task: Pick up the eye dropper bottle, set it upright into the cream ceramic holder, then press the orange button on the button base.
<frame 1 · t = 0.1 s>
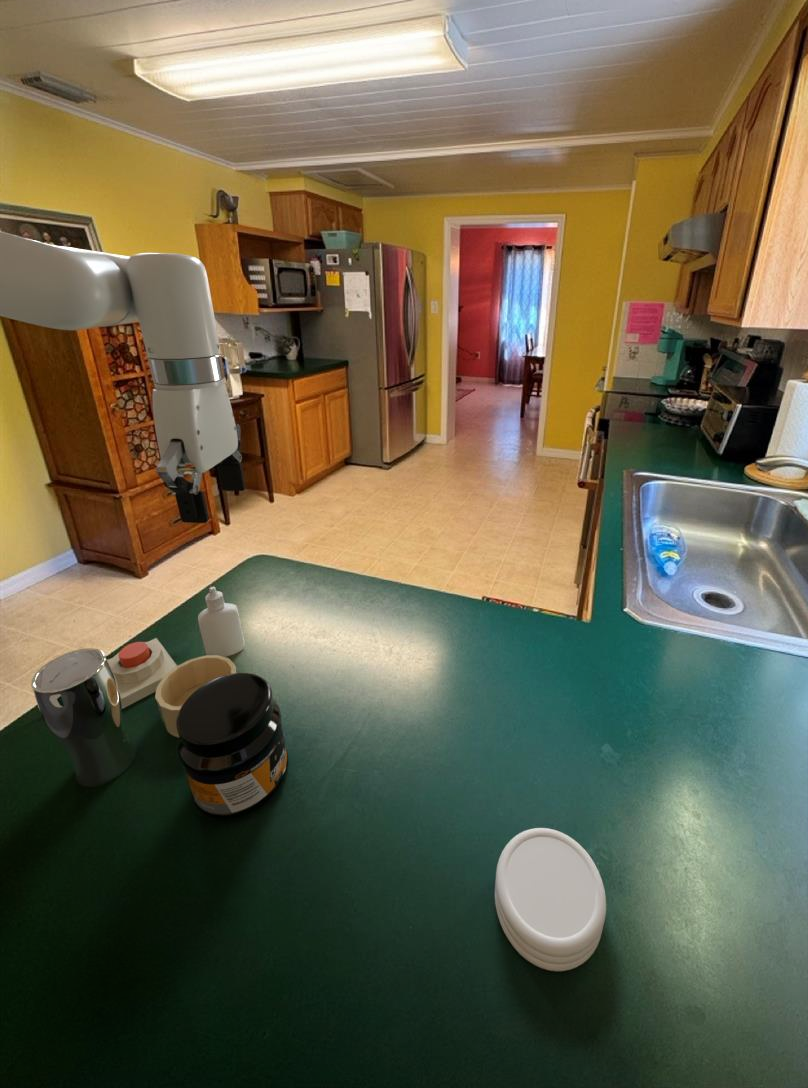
hand: (216, 504, 61), 28 cm above the kitchen counter, tool pointing down, fingers open, 9 cm apart
coaster: (546, 905, 45), on the kitchen counter
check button: (134, 654, 69), point 4 cm above the kitchen counter, slide at 0.1 cm
silver rounded piece: (107, 764, 58), on the kitchen counter
supplement container: (243, 780, 56), on the kitchen counter
eye dropper bottle: (226, 651, 76), on the kitchen counter
button base: (141, 675, 71), on the kitchen counter
holder: (204, 708, 65), on the kitchen counter
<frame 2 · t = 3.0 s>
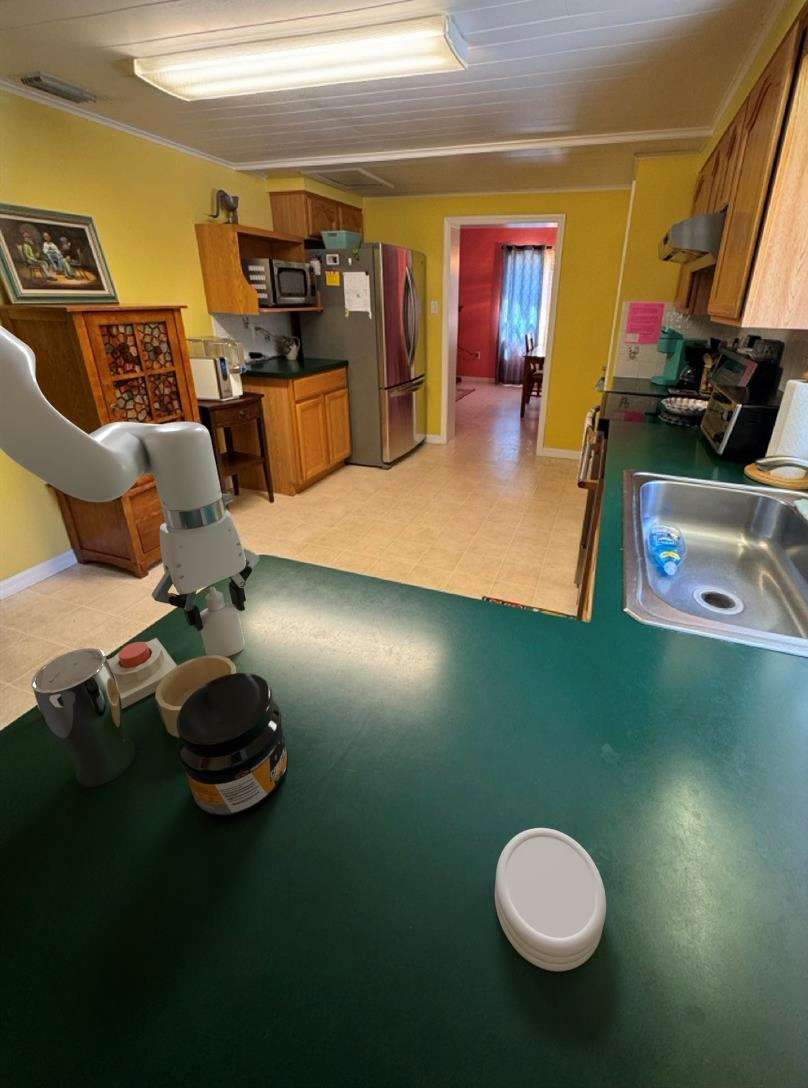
hand: (218, 615, 73), 7 cm above the kitchen counter, tool pointing down, fingers closed on eye dropper bottle, 5 cm apart
eye dropper bottle: (226, 651, 76), on the kitchen counter, touching gripper
everything else where it was.
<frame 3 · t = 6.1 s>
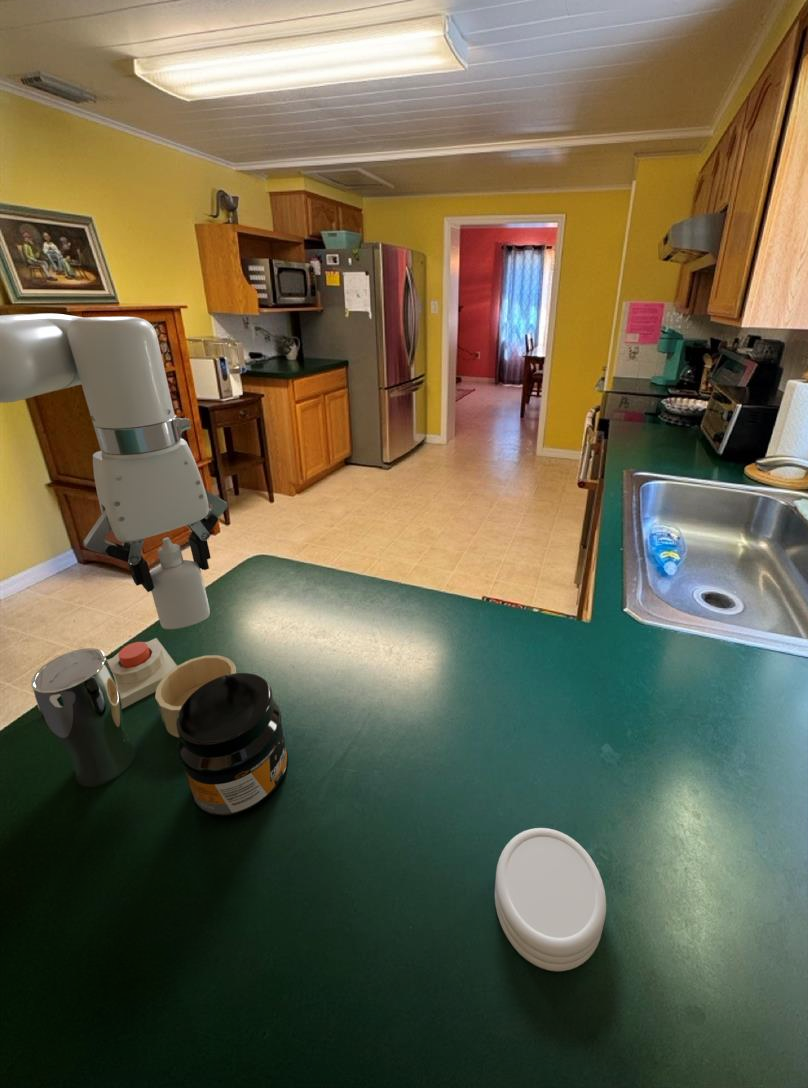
hand: (175, 574, 59), 21 cm above the kitchen counter, tool pointing down, fingers closed on eye dropper bottle, 5 cm apart
eye dropper bottle: (187, 620, 61), point 14 cm above the kitchen counter, touching gripper
everything else where it was.
when the fingers open (8 cm above the kitchen counter, at t = 9.5 s): eye dropper bottle stays where it is, resting on holder.
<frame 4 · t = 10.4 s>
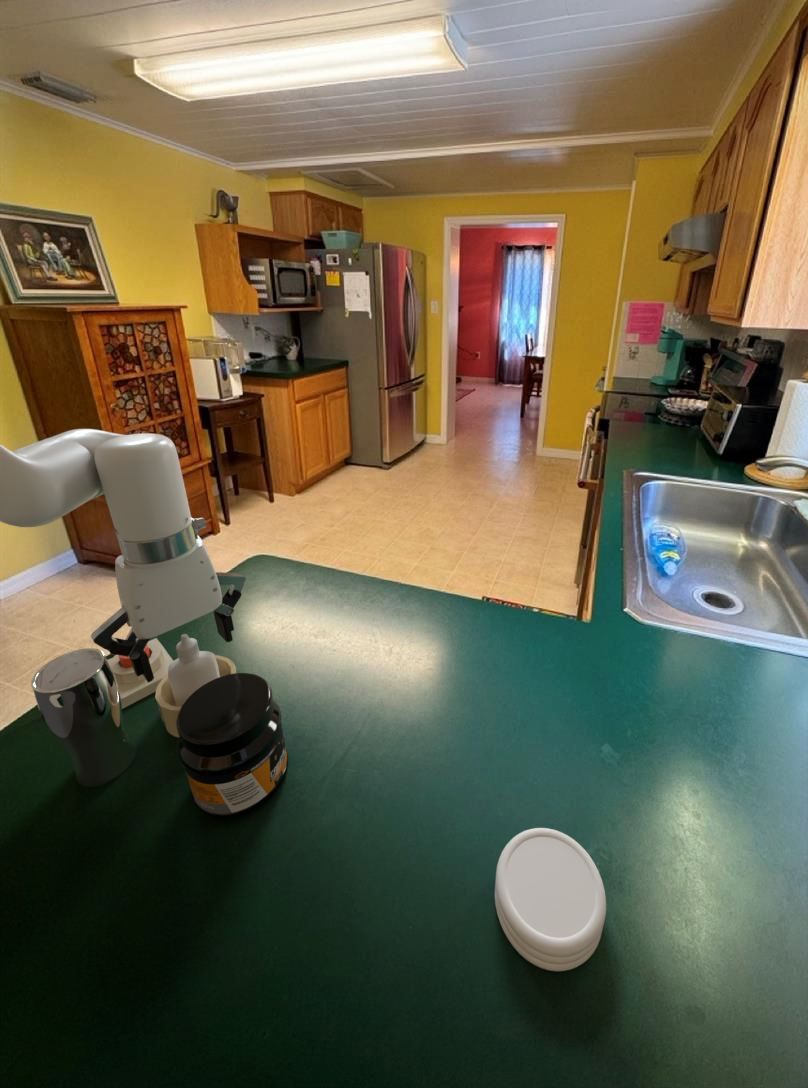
hand: (188, 655, 61), 9 cm above the kitchen counter, tool pointing down, fingers open, 9 cm apart
eye dropper bottle: (202, 706, 65), resting on holder
everything else where it was.
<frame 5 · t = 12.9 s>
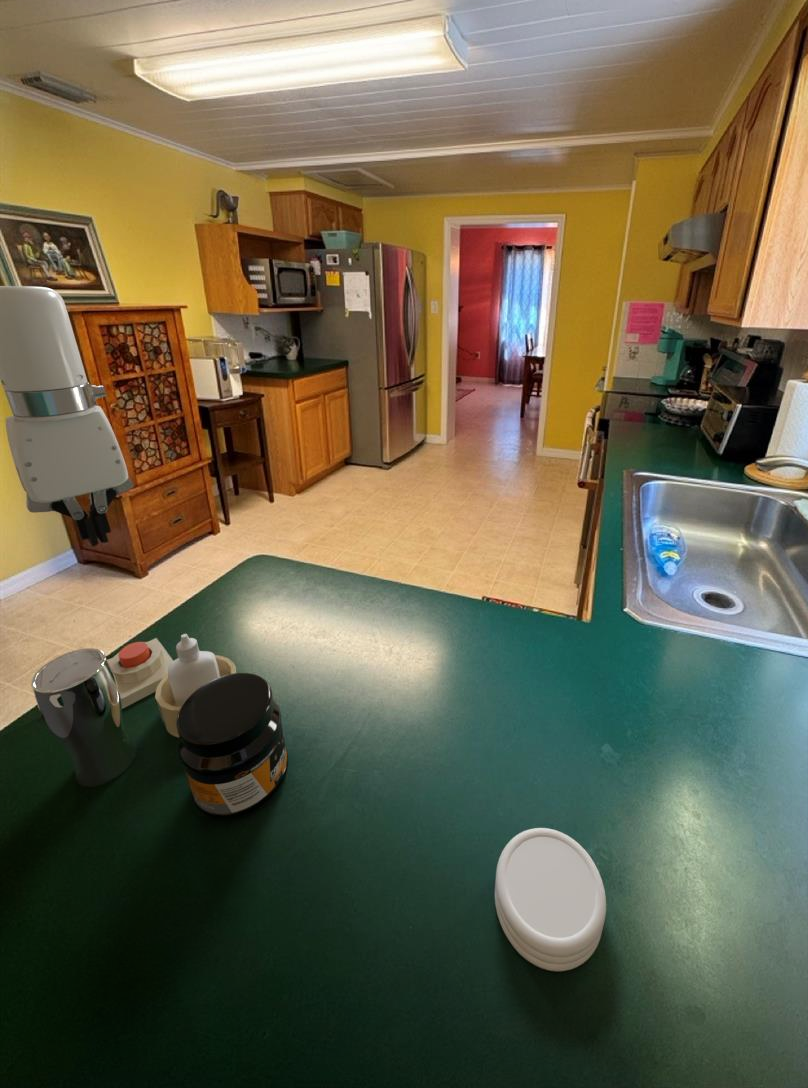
hand: (97, 540, 62), 23 cm above the kitchen counter, tool pointing down, fingers closed
nothing on the kitchen counter moved.
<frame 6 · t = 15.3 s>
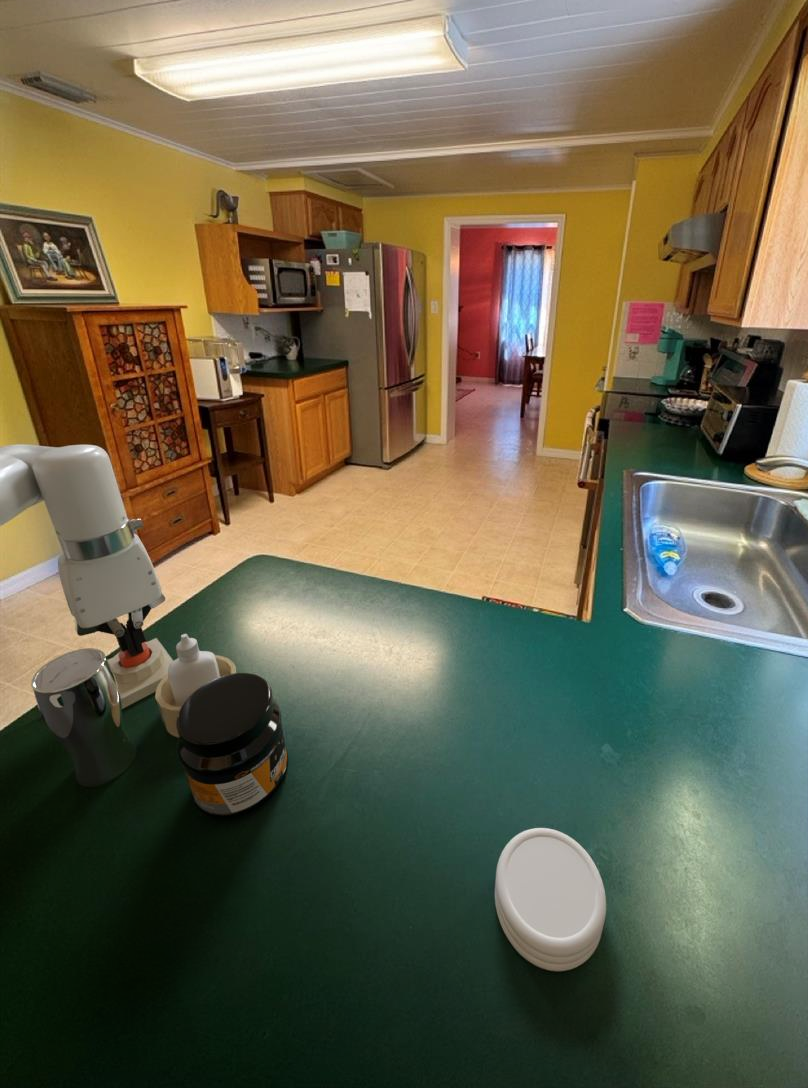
hand: (134, 649, 69), 5 cm above the kitchen counter, tool pointing down, fingers closed
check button: (134, 654, 69), point 4 cm above the kitchen counter, slide at 0.1 cm, touching gripper
everything else where it was.
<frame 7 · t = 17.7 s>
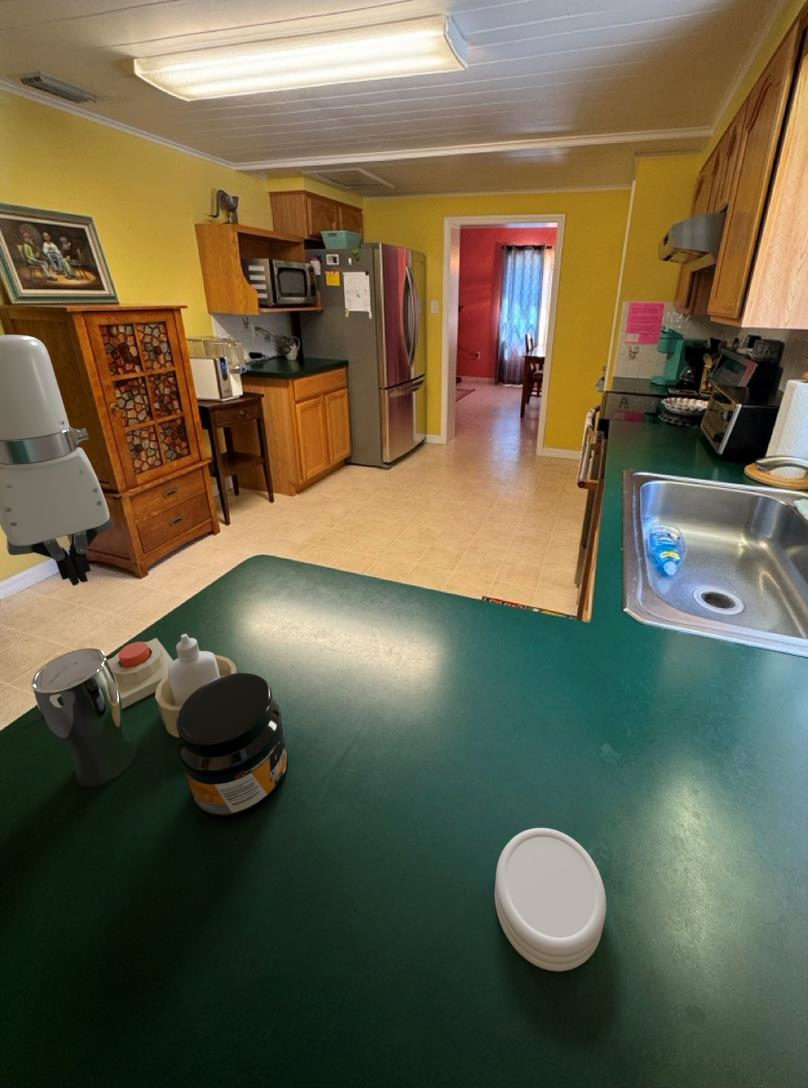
hand: (77, 579, 62), 18 cm above the kitchen counter, tool pointing down, fingers closed
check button: (134, 654, 69), point 4 cm above the kitchen counter, slide at 0.1 cm
everything else where it was.
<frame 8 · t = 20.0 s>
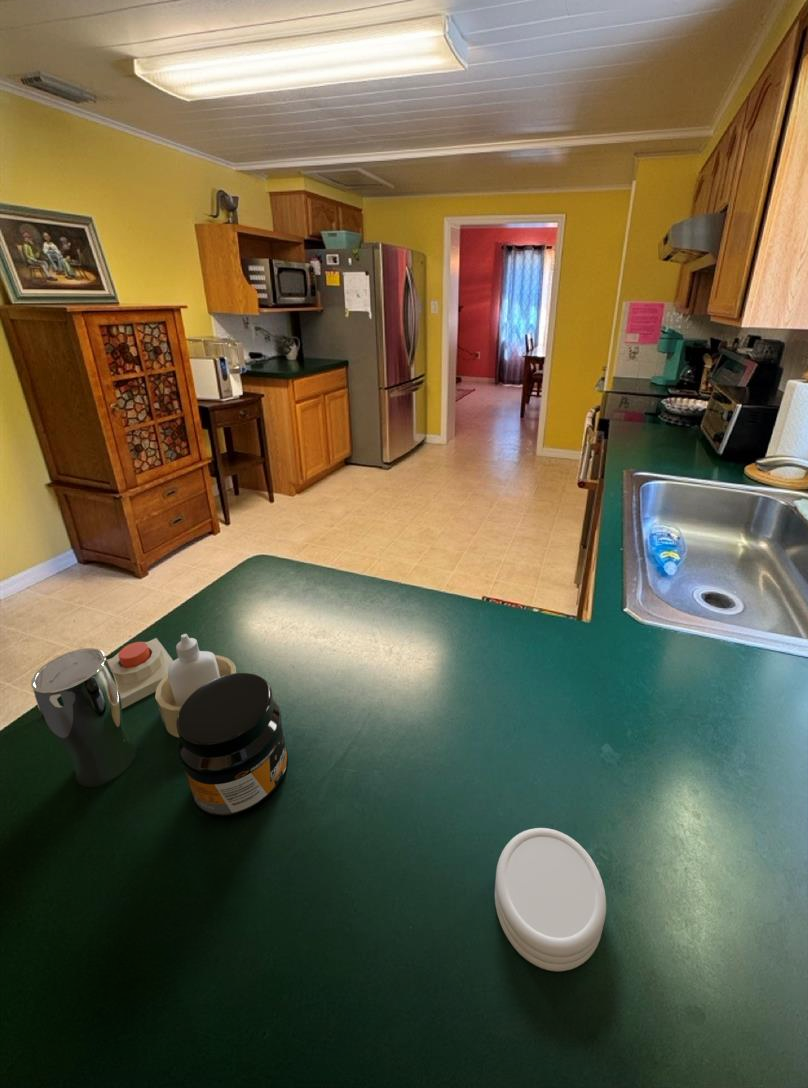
nothing on the kitchen counter moved.
at the end: eye dropper bottle 0.1 cm off-centre in the holder, point 0.4 cm above the holder's base; eye dropper bottle tilted 0°; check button pushed in 1.1 cm at the most during the clip, back to where it started at the end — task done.
